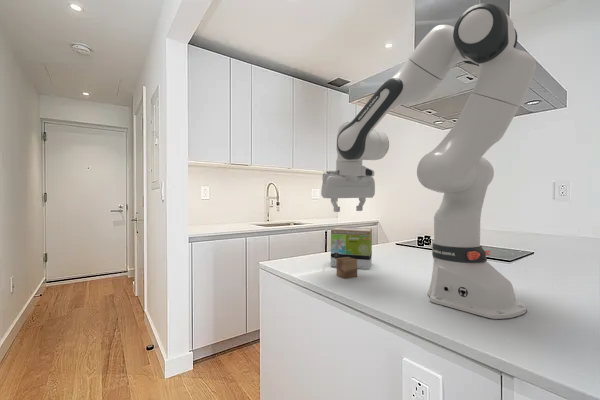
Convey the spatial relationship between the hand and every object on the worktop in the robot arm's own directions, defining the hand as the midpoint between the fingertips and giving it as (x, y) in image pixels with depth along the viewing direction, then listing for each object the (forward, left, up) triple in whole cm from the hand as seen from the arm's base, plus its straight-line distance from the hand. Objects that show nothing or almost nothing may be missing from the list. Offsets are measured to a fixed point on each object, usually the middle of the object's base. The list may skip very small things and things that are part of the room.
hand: (348, 211), depth 107 cm
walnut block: (-1, +1, -22) cm, 22 cm away
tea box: (+11, -10, -22) cm, 27 cm away
